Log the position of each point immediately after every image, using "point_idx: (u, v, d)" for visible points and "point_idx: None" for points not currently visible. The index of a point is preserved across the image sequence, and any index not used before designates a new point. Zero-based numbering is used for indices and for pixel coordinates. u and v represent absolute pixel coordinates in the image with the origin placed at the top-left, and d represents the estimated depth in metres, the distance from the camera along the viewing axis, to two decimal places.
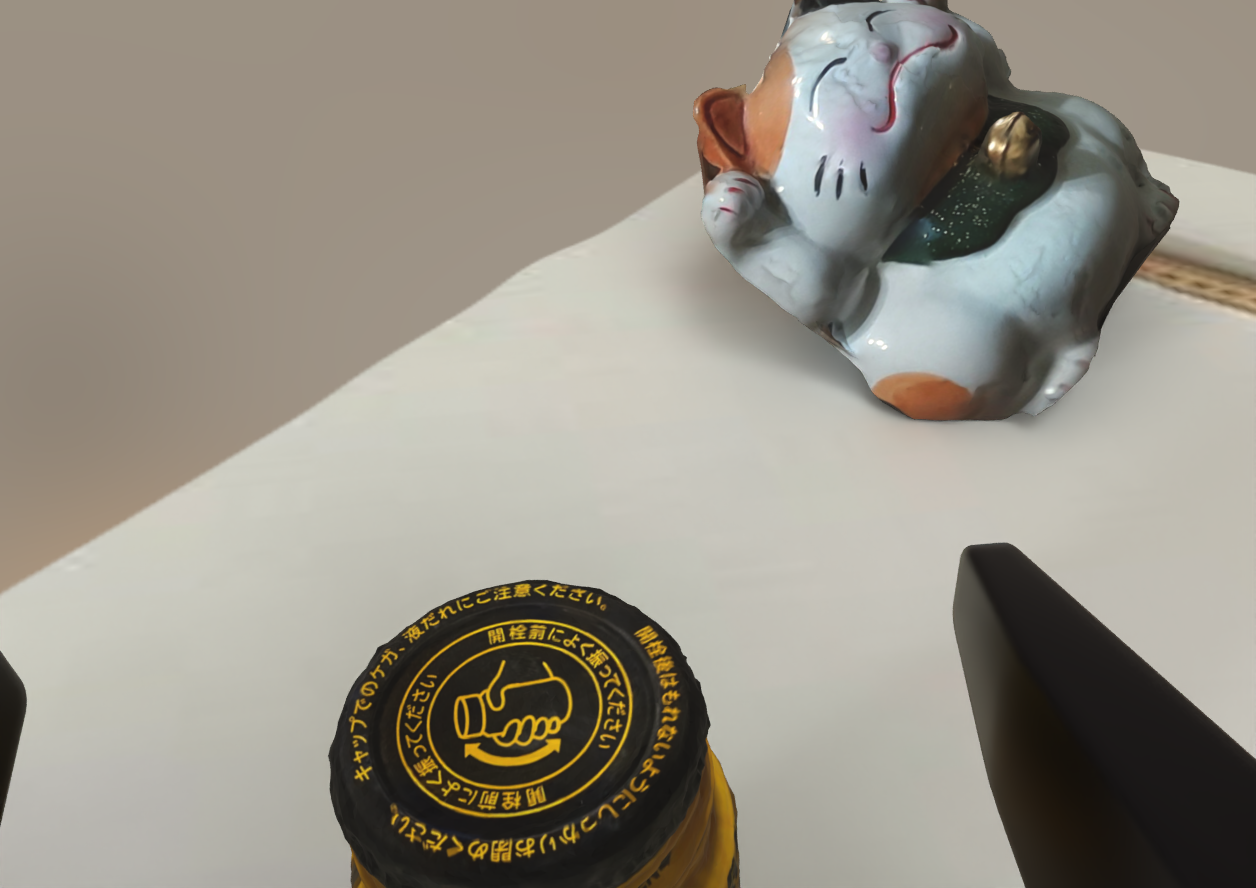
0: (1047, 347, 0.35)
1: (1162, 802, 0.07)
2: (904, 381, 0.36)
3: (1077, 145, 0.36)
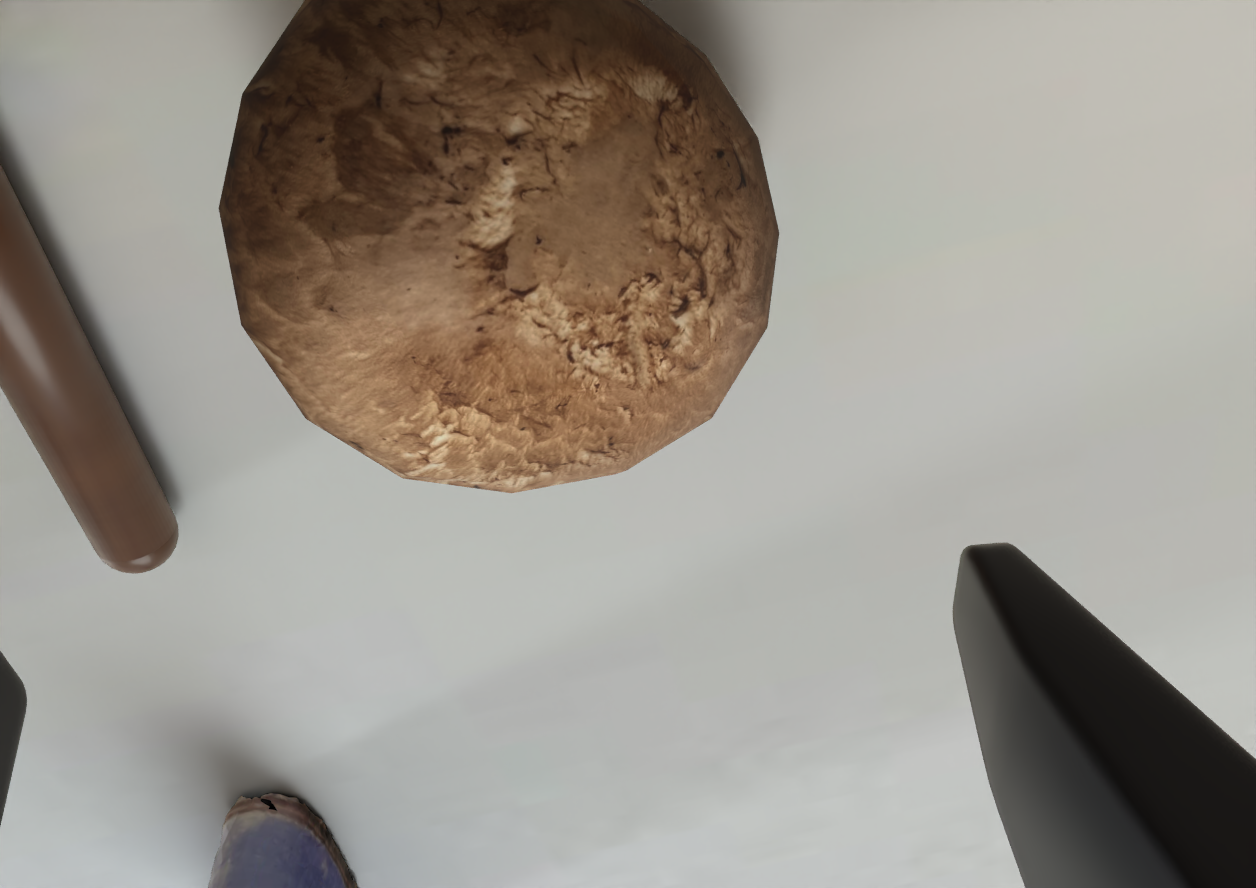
0: None
1: (1162, 802, 0.07)
2: None
3: None
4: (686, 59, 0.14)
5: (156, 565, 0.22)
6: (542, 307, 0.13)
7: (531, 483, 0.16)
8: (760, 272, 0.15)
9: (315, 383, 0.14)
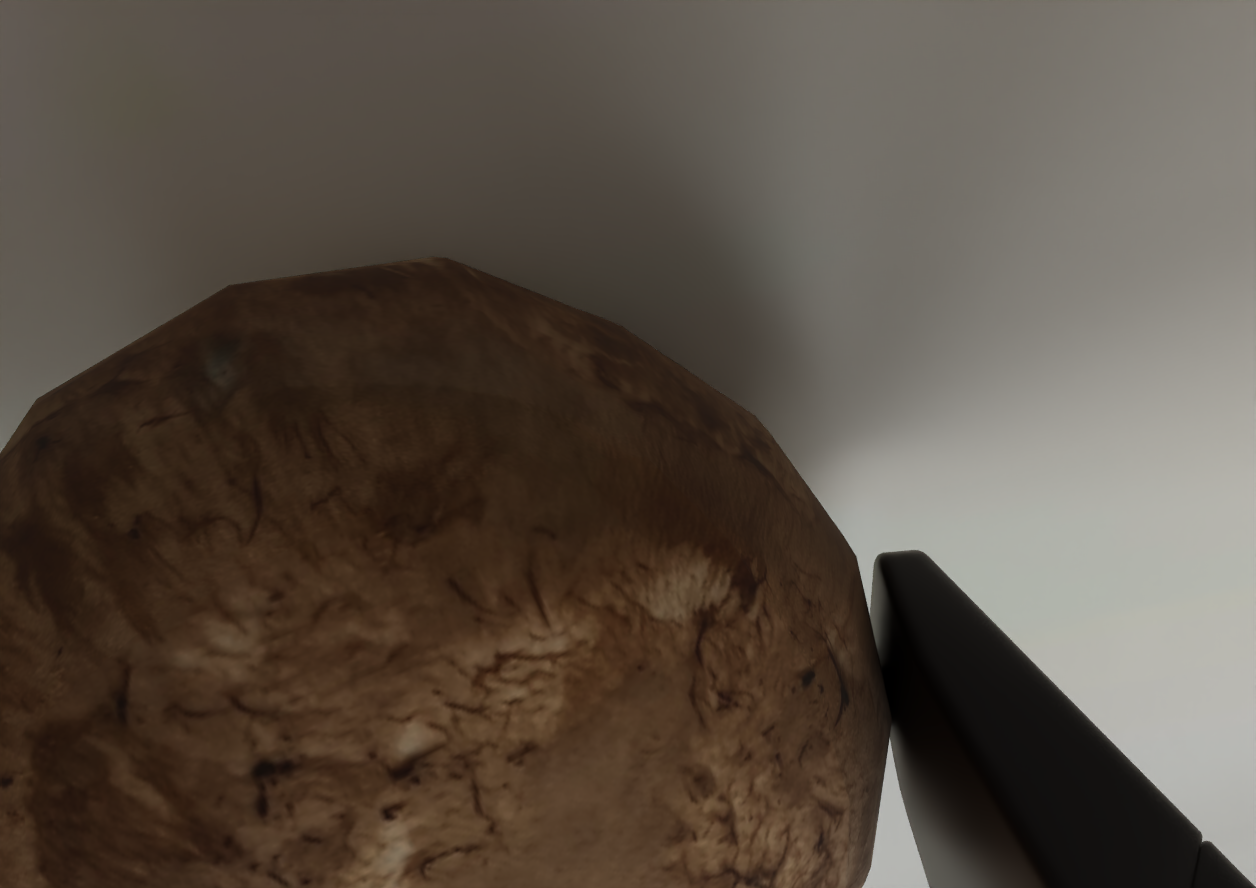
0: None
1: (1043, 811, 0.07)
2: None
3: None
4: (744, 495, 0.08)
5: None
6: None
7: None
8: (868, 823, 0.09)
9: None
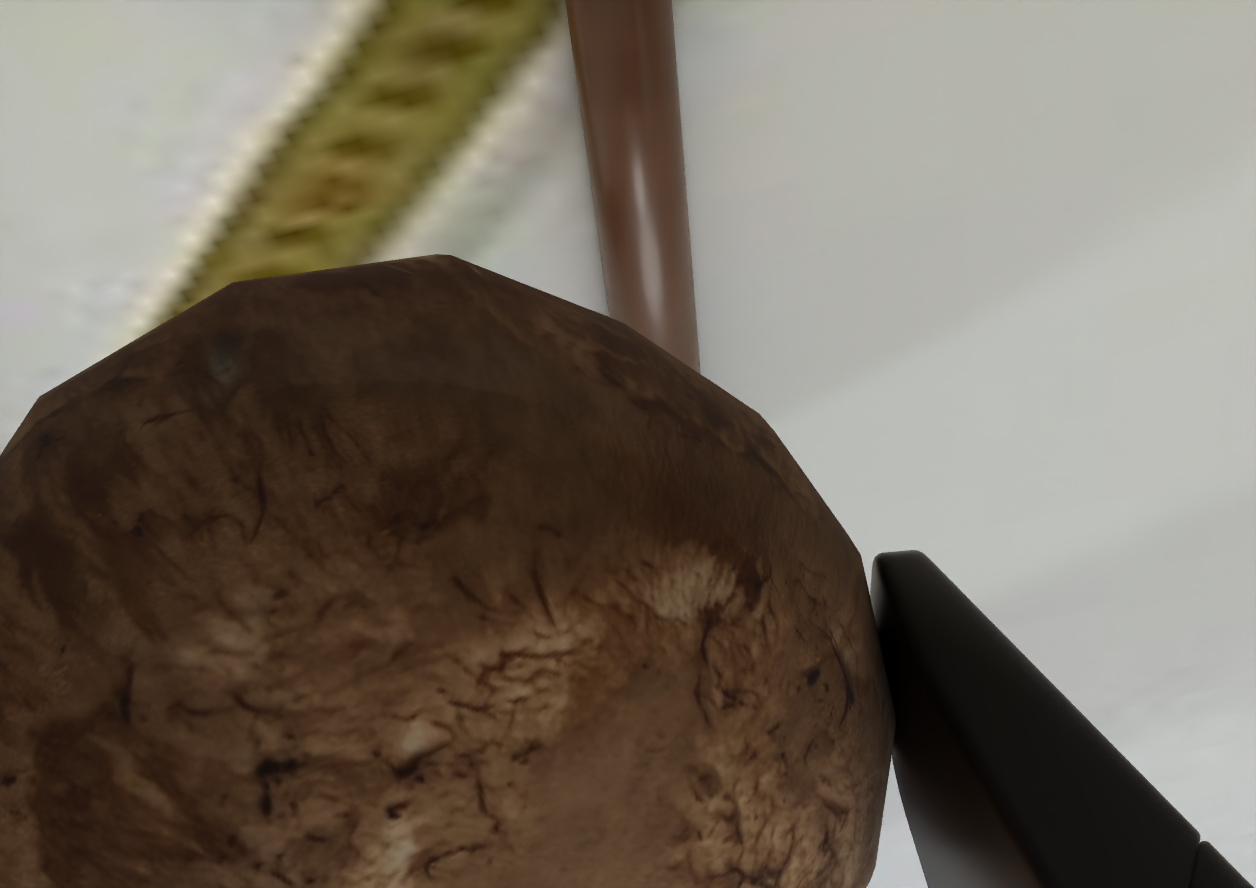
0: None
1: (1041, 810, 0.07)
2: None
3: None
4: (750, 494, 0.08)
5: None
6: None
7: None
8: (873, 823, 0.09)
9: None
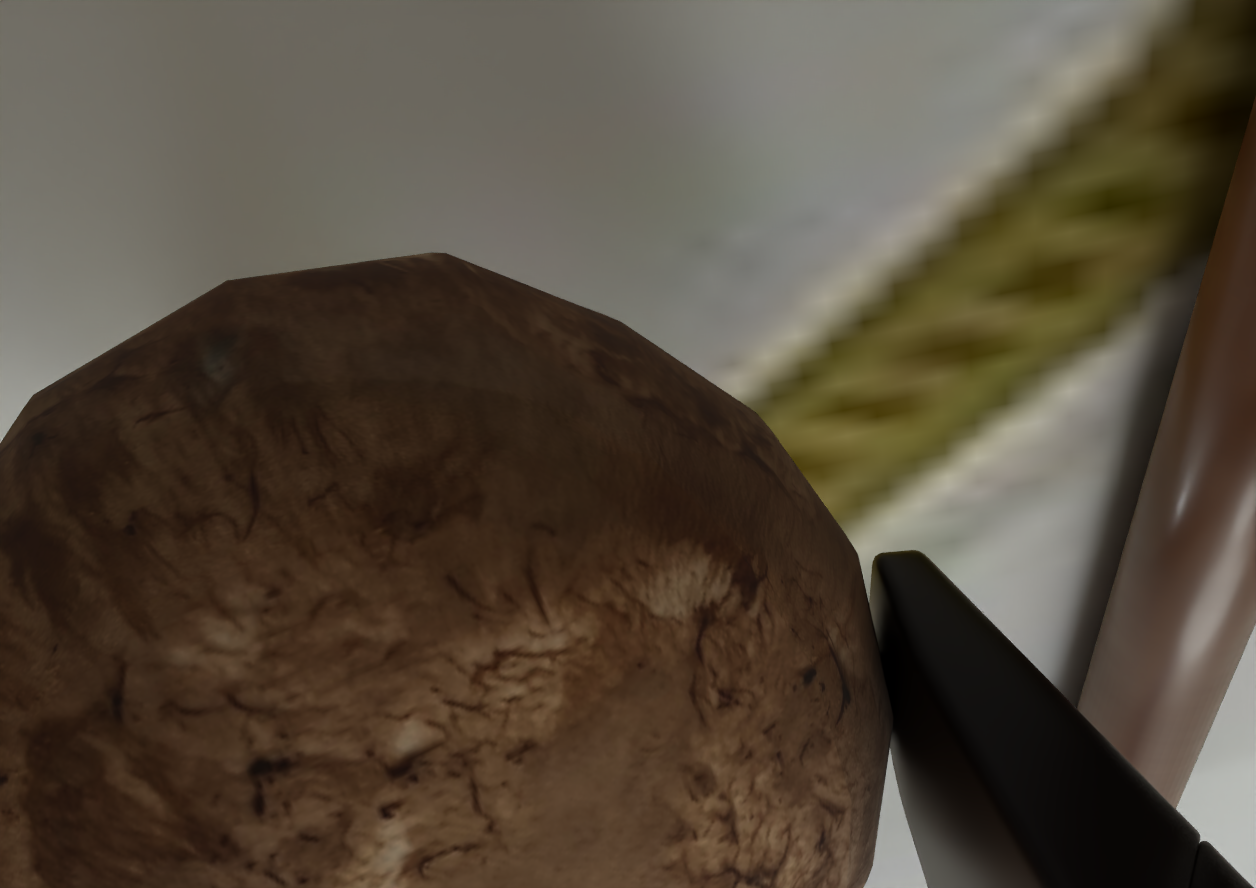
0: None
1: (1041, 810, 0.07)
2: None
3: None
4: (745, 491, 0.08)
5: None
6: None
7: None
8: (870, 822, 0.09)
9: None
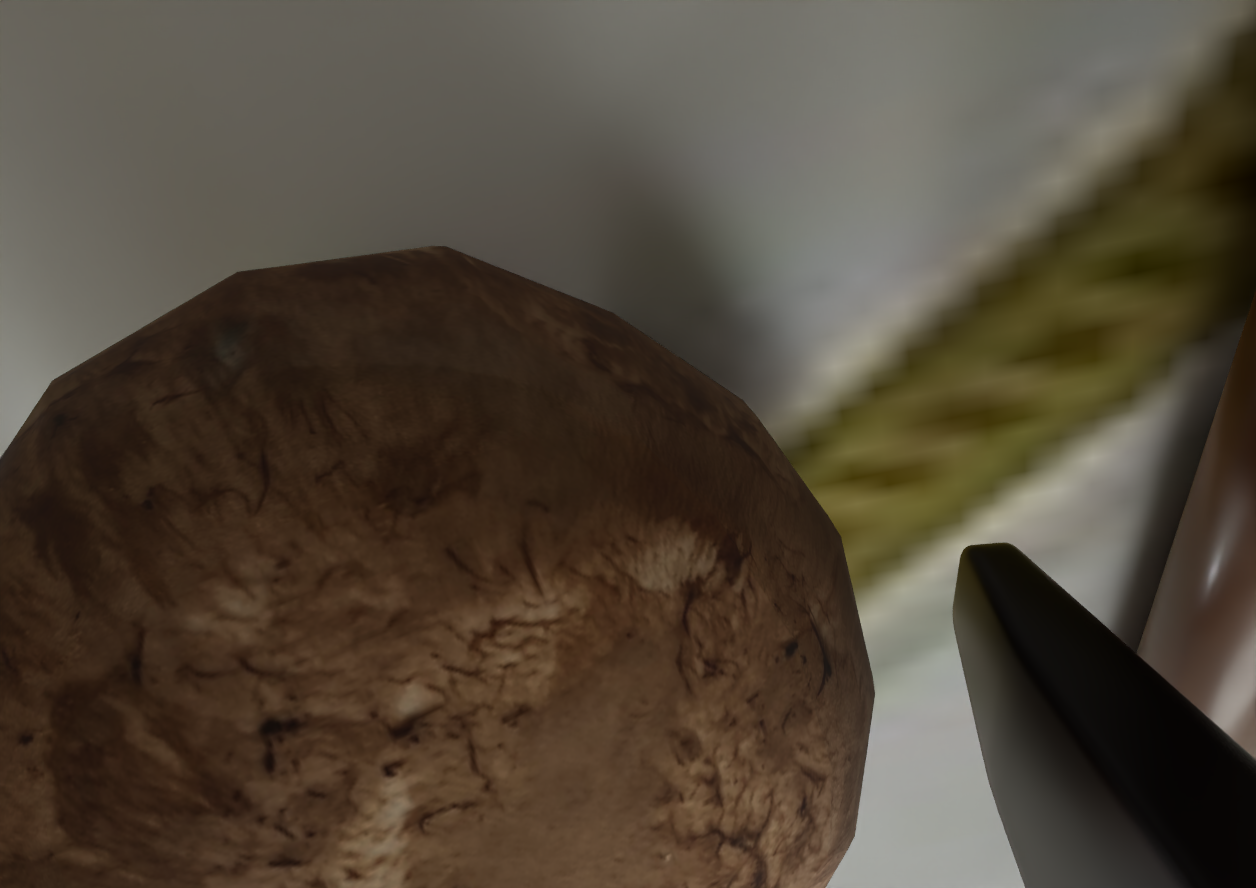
0: None
1: (1162, 802, 0.07)
2: None
3: None
4: (730, 473, 0.08)
5: None
6: None
7: None
8: (851, 792, 0.09)
9: None
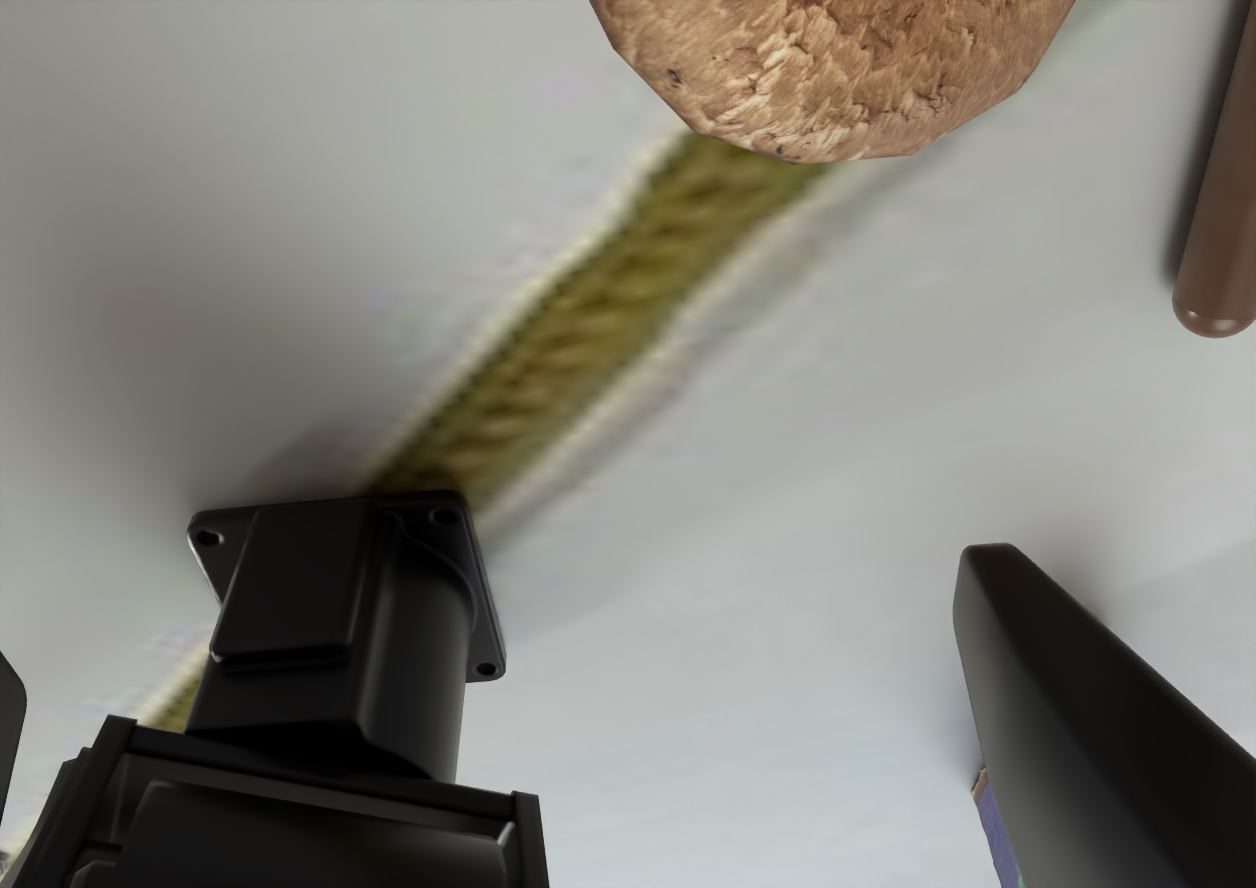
0: None
1: (1162, 802, 0.07)
2: None
3: None
4: None
5: (1244, 328, 0.21)
6: None
7: (843, 141, 0.15)
8: None
9: None
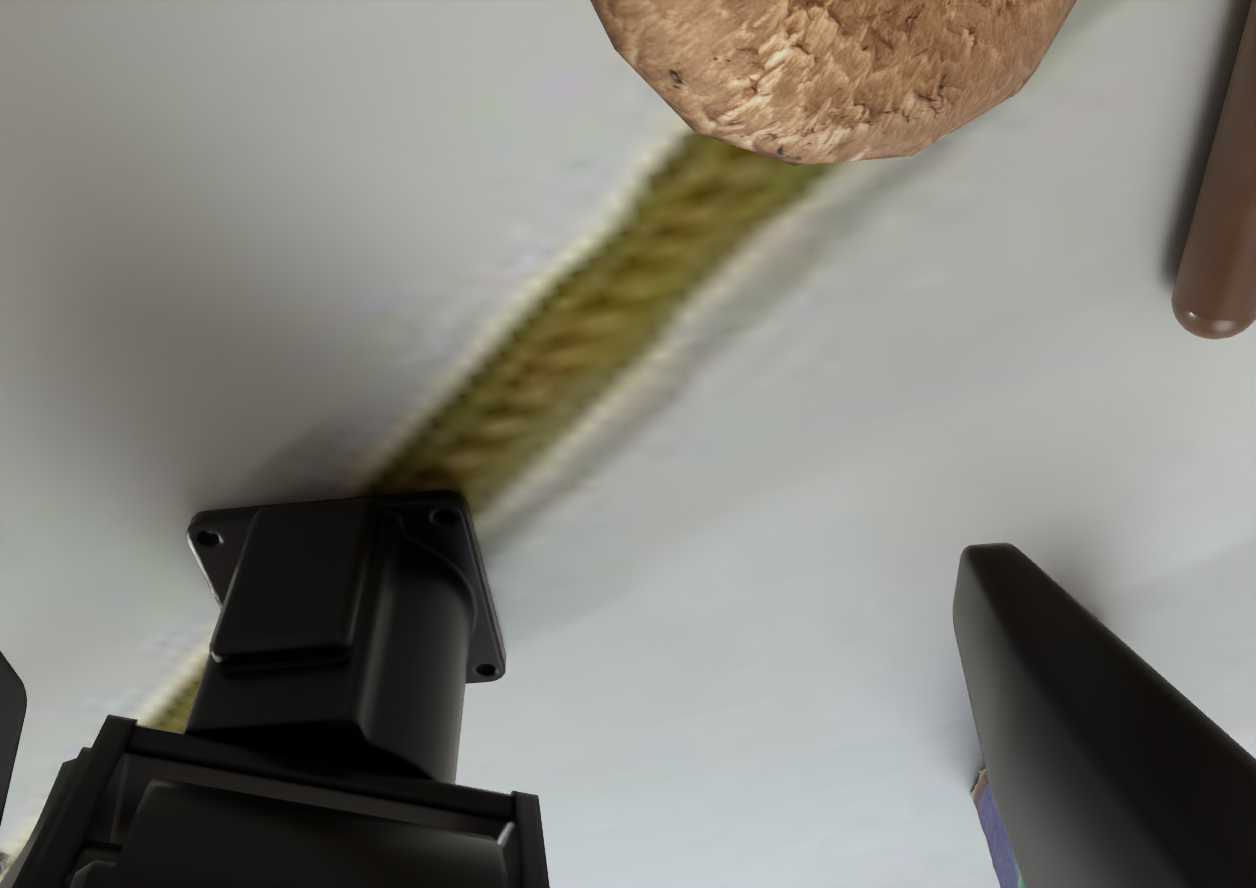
0: None
1: (1162, 802, 0.07)
2: None
3: None
4: None
5: (1243, 329, 0.21)
6: None
7: (844, 141, 0.15)
8: None
9: None
